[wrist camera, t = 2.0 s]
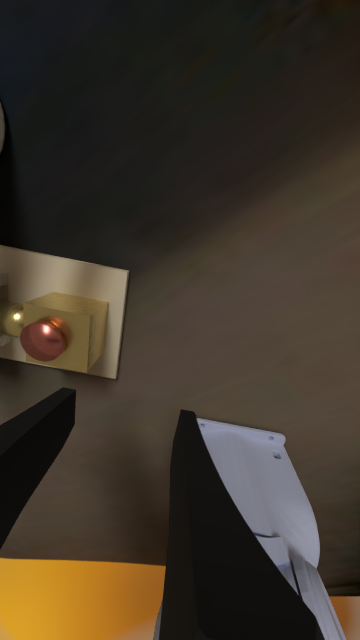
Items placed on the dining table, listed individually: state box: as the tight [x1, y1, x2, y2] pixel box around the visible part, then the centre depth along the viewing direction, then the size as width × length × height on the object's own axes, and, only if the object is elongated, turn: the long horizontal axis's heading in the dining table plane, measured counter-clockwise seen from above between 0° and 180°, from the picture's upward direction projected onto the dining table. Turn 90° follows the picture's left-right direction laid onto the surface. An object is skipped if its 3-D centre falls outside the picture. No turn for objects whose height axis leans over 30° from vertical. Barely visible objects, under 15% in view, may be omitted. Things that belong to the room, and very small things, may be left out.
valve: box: [0, 292, 109, 373], centre depth 17 cm, size 8×4×4 cm, turn 79°
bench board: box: [0, 245, 129, 379], centre depth 19 cm, size 19×10×1 cm, turn 79°
